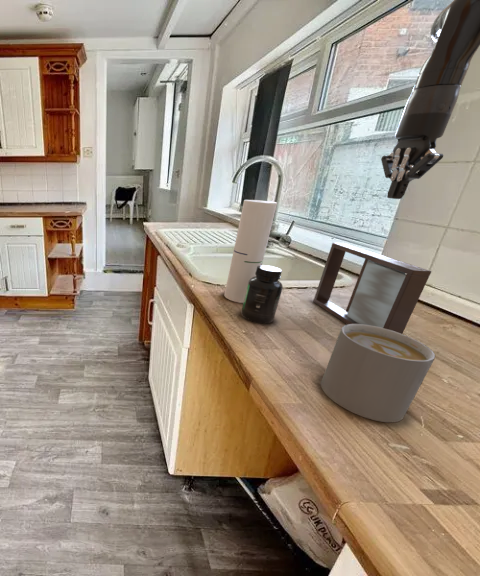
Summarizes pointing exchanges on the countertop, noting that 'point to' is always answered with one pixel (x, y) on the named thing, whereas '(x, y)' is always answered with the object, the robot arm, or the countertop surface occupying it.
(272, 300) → the supplement bottle
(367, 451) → the countertop surface
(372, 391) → the coffee mug
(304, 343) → the countertop surface
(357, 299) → the window frame
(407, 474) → the countertop surface
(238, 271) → the cylindrical container
